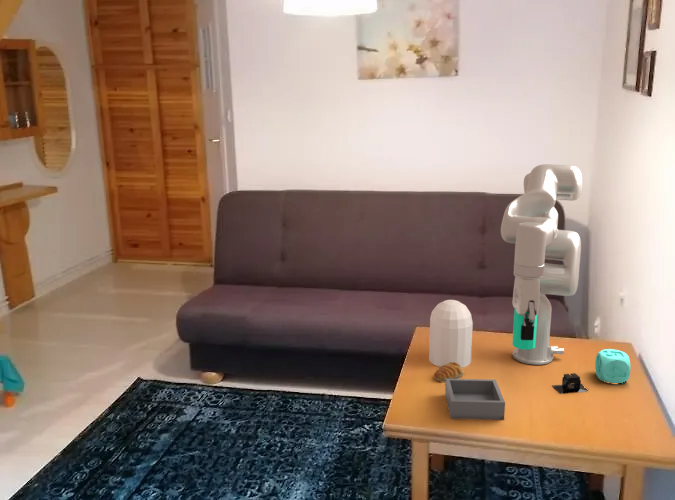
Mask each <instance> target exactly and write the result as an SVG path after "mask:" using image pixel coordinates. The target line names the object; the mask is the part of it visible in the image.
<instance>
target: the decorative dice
mask: <svg viewBox="0 0 675 500" xmlns="http://www.w3.org/2000/svg"><path fill="white" fill-rule="evenodd" d="M594 363H595V374H596V377H597V376H598V377H597V379H598V378H599V379H600V381H601V380H602V382H603V381H605V382H609V383H622V384H624V383H626V382H627V381H628V380H629V379H630V376H631V370H632V369H631V367H632V366H631V360H630V356H629V355H628V354H627V353H626V352H624V351H622V350H618V349H613V348H608V349H607V348H605V349H602V350H600V351H598V353H597V354H596V357H595V362H594ZM599 379H598V380H599ZM625 381H626V382H625ZM605 382H604V383H605ZM623 382H624V383H623ZM609 383H608V384H609Z"/></svg>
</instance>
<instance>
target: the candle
mask: <svg viewBox="0 0 675 500" xmlns="http://www.w3.org/2000/svg"><path fill="white" fill-rule="evenodd" d="M513 311H514V312H513V327H512V329H513V330H512V340H511V341H512V342H511V343H512V344H511V345H512V346H513V347H514V348H515V349H516V348H518V349H524V350H529V349H533V348H535V344H536V330H537V316H538V314H537V315H536V316H535V321H534V336H533V340H521V325H523V315H519V314H518V313H517V311H516V308H514V310H513ZM525 314H529V312H526V313H525ZM527 318H528V317H526V319H527Z"/></svg>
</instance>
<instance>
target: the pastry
mask: <svg viewBox="0 0 675 500" xmlns="http://www.w3.org/2000/svg"><path fill="white" fill-rule="evenodd" d="M464 374H465V373H464V371H463V367H462V368H461V366H460V365H459V364H458V363H456V362H453V363H452V362H450V363H448V364H446V365H443V366H441V367H439V368H438V369H437V370H436V371H435V373H434V380H436V381H439V382H442V383H446V379H461V378H462V377H463V376H464Z"/></svg>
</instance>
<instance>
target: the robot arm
mask: <svg viewBox="0 0 675 500" xmlns="http://www.w3.org/2000/svg"><path fill="white" fill-rule="evenodd" d="M583 185H584V184H583V175H582V172H581V170H580V169H579V168H578V167H577V166H575V165H570V164H544V163H543V164H539V165H536V166H535V167H533V169H531V171H530V172H529V173H527V174H526V175H524V179H523V192H524V193H523V194H521V195H520V196H518V197H516V198H514V200H511V201H510V202H509V203H508V204H507V206H506V208H505V210H504V213H503V217H502V220H501V225H500V236H501V239H502V240H503V241H504V242H506V243H509V244H515V246H514V260H513V261H514V262H513V276H514V283H513V290H512V291H513V293H512V302H511V304H512V306H513V308H514V309H515V308H516V311H517V313H518V314H519V315H523V325H521V340H533V336H534V321H535V316H536V315H537V314H538V316H537V330H536V344H535V348H533V349H529V350H524V349H518V348H516V347H515V349H514V350H512V357H513V358H514V359H515V360H516V361H518V362H521V363H523V364H527V365H535V366H540V365H547V364H550V363H551V362H552V361H553V359H554V355H556V354H557V355H564V354H565V350H564V349H565V348H564V347H558V345H550V336H551V335H550V334H551V323H552V311H553V310H552V309H553V308H552V307H553V306H552V304H551V301H550V300H549V299H548V297H547V295H554V296H562V297H563V296H564V297H570V296H574V295H575V294H576V293H577V291H578V287H579V278H580V264H581V256H582V255H581V253H582V240H581V237H580V235H579V233H578V232H576V231H573V230H564V229H558V225H559V223H558V222H559V213H558V210H557V208H555V204H556V202H557V201H577V200H579V198H580V197H581V195H582V193H583V192H582V191H583ZM545 260H551V261H553V260H554V261H562V262H563V264H556V263H547V262H545ZM526 312H529V314H525V313H526ZM526 317H528V318H527V319H526Z"/></svg>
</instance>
